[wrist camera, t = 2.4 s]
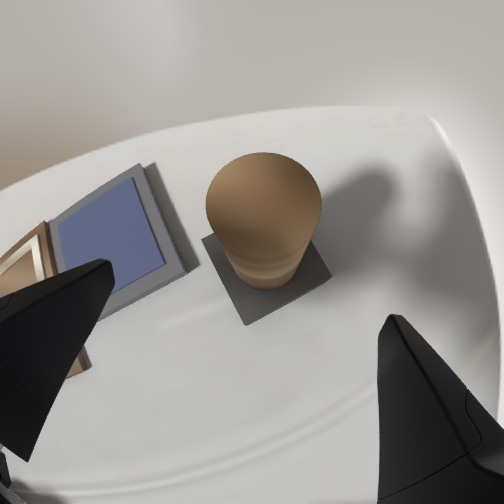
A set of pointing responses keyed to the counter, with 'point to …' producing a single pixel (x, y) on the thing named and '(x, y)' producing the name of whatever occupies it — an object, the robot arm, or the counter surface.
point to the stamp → (264, 232)
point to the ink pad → (119, 238)
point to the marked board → (31, 270)
